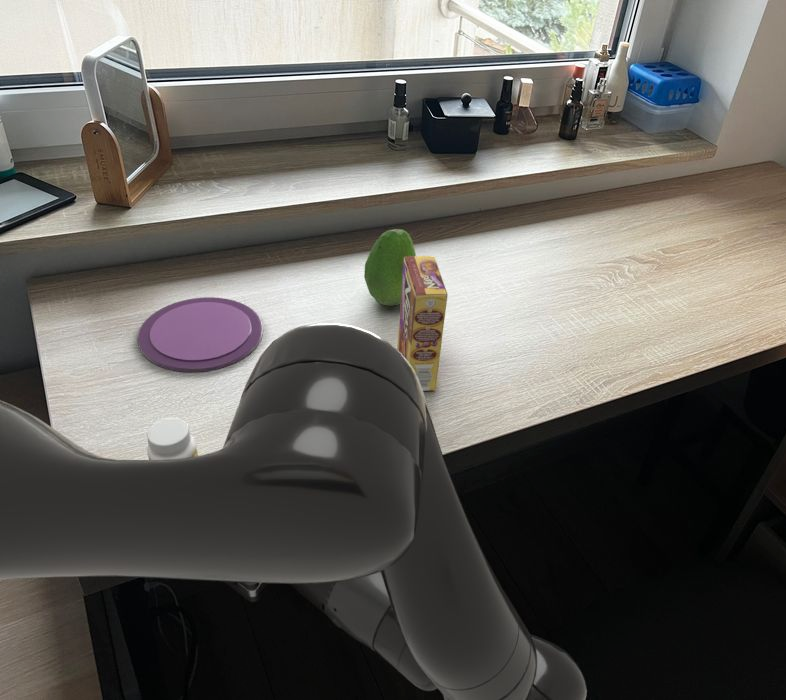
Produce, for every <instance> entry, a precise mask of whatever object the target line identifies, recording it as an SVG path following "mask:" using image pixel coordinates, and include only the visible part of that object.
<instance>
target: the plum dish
mask: <svg viewBox="0 0 786 700" xmlns="http://www.w3.org/2000/svg"><path fill="white" fill-rule="evenodd" d="M263 332H264V328H263V322H262V319H261V317H260V316H259V314H258V313H257V312H256V311H255V310H254V309H252V308H251V307H250V306H248V305H246V304H244V303H242V302H240V301H237V300H233V299H229V298H223V297H213V296H210V297H209V296H208V297H207V296H205V297H194V298H188V299H184V300H181V301H176V302H173V303H171V304H168V305H166V306H164V307H161V308H160V309H158V310H157V311H155V312H154V313H152V314H151V315H150V316H149V317H147V318H146V319H145V321H144V322H143V323H142V325H141V327H140V328H139V330H138V334H137V343H138V348H139V350H140V352H141V353H142V355H143V356H144V357H145V358H146V359H147V360H148V361H150V362H151V363H152V364H154V365H156V366H158V367H161V368H163V369H166V370H170V371H175V372H182V373H201V372H209V371H215V370H219V369H222V368H226V367H229V366H231V365H234V364H236V363H238V362H240V361H241V360H244V359H245V358H246V357H248V356H249V355H250V354H251V353H252V352H254V351H255V350H256V348H257V347H258V346H259V344H260V343H261V341H262V338H263Z"/></svg>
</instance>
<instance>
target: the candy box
mask: <svg viewBox="0 0 786 700" xmlns="http://www.w3.org/2000/svg"><path fill="white" fill-rule="evenodd" d="M445 285H446V284H445V283H444V280H443V276H442V274H441V271H440V268H439V266H438V263H437V261H436V256H434V255H433V256H432V255H416V256H413V257H404V264H403V278H402V290H401V303H400V304H399V305H400V306H399V318H398V319H399V320H398V322H399V323H398V334H397V346H396V347H397V348H396V349H397V350H398V351H399V352H400V353H401V354H402V355H403V356H404V357H405V358H406V359H407V361H408V362H409V363H410V365H411V366H412V368H413V369H414V371H415V373H416V375H417V377H418V379H419V381H420V384H421V387H422V390H423V392H430V391H434V392H435V391H436V388H437V383H438V373H439V367H440V359H441V351H442V350H441V349H442V341H443V334H444V326H445V318H446V310H447V304H448V295H449V294H448V291H447V289H446V286H445Z"/></svg>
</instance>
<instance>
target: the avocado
mask: <svg viewBox="0 0 786 700" xmlns="http://www.w3.org/2000/svg"><path fill="white" fill-rule="evenodd" d="M413 242H414V241H413V240H412V238H411V236H410V233H408V232H407V231H406V230H404V229H399V228H397V229H388V230H386V231H385V232H383V233H381V235H379V237H378V238H377V239H376V240H375V242H374V244H373V246H372V248H371V249H370V252H369V254H368V256H367V259H366V260H365V263H364V274H363V275H364V277H363V278H364V281H365V285H366V287H367V290H368V292H369V294H370V296H371V297H372V298H373V299H374V300H375V301H376V303H378V304H380V305H383V306H388V307H393V306H397V305H400V304H401V290H402V278H403V264H404V257H413V256H417V254H416V250H415V245H414V243H413Z"/></svg>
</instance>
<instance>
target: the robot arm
mask: <svg viewBox="0 0 786 700" xmlns="http://www.w3.org/2000/svg"><path fill="white" fill-rule="evenodd" d="M439 441H440V440H439V438H438V435H437V431H436V428H435V424H434V421H433V419H432V415H431V412H430V409H429V405H428V402H427V399H426V396H425V393H424V391H423V390H422V387H421V384H420V381H419V379H418V377H417V375H416V373H415V371H414V369H413V368H412V366H411V365H410V363H409V362H408V361H407V359H406V358H405V357H404V356H403V355H402V354H401V353H400V352H399V351H398V350H397V348H396V347H394V346H393V344H391V343H390V342H389V341H388V340H386V339H384V338H383V337H380V336H379V335H378V334H375V333H373V332H372V331H370V330H367V329H363V328H361V327H358V326H355V325H351V324H345V323H339V322H317V323H311V324H310V323H309V324H305V325H301V326H298V327H295V328H293V329H290V330H288V331H286V332H284V333H283V334H282V335H280V336H279V337H277V338H276V339H274V340H273V341H272V342H271V343H269V345H268V346H267V348H266V349H265V350H264V351H263V352H262V354H261V355H260V356H259V358H258V360H257V362H256V363H255V366H254V368H253V369H252V371H251V373H250V375H249V376H248V379H247V381H246V383H245V386H244V388H243V390H242V393H241V396H240V400H239V403H238V406H237V408H236V410H235V414H234V416H233V419H232V422H231V425H230V427H229V430H228V432H227V436H226V437H225V441H224V444H223V446H222V448H220V449H218V450H216V451H213V452H210V453H206V454H200V455H198V456H196V457H188V458H181V459H165V460H149V459H115V458H109V457H104V456H101V455H97V454H95V453H92V452H90V451H88V450H86V449H85V448H83V447H82V446H80V445H78V444H77V443H75V442H74V441H72V439H70V438H68V437H66V436H65V435H64V434H62V433H61V432H59V431H58V430H57V429H55V428H54V427H52V426H50V425H49V424H47V423H46V422H44V421H43V420H41V419H40V418H38V417H37V416H34V415H33V414H31V413H29V412H28V411H26V410H24V409H22V408H19V407H17V406H15V405H13V404H10V403H8V402H6V401H4V400H1V399H0V580H19V579H21V580H23V579H24V580H25V579H49V578H51V579H53V578H55V579H56V578H92V577H93V578H94V577H100V578H102V577H106V578H107V577H108V578H109V577H110V578H111V577H112V578H114V577H115V578H116V577H117V578H141V579H142V578H145V579H166V580H185V581H186V580H188V581H189V580H190V581H208V582H209V581H210V582H224V583H225V584H226V585H227V586H229V587H230V588H231V589H233V590H234V592H237V593H238V594H239V595H240V596H242V597H243V598H244V599H245V600H247V601H248V602H250V603H256V602H258V601H260V600H261V598H262V590H263V589H265V587H267V586H268V584H276V585H277V584H279V585H290V586H292V587H293V588H294V589H295V590H296V591H297V592H298V593H299V594H300V595H302V596H303V597H304V598H305V599H306V600H307V601H309V603H311V604H312V605H314V606H315V607H316V608H317V609H318V610H319V611H321V612H322V613H323V614H324V615H325V616H326V617H328V618H329V619H330V620H331V622H332V623H333V624H334V625H335V626H336V627H337V628H339V629H341V630H343V631H344V632H345V633H347V634H348V635H349V636H350V637H351V638H353V639H354V640H356V641H358V642H359V643H361V644H363V645H364V646H366V647H368V648H369V649H370V650H371V651H373V652H374V653H375V654H377V655H378V656H379V657H380V658H381V659H382V660H384V661H385V663H387V664H388V665H390V666H391V667H392V668H393V669H394V670H396V671H397V672H398V673H399V674H400V675H401V676H403V677H404V679H406V680H407V681H408V682H409V683H411V684H412V685H414V686H415V687H417V688H418V689H420V690H422V691H426V692H430V691H431V692H432V691H435V690H437V689H438V691H440V693H441V694H442V697H443V699H444V700H586V698H587V692H588V688H587V687H588V686H587V682H586V678H585V675H584V673H583V671H582V670H581V667H580V665H579V664H578V663H577V661H576V660H575V659H574V658H573V657H572V656H571V654H569V652H567V651H566V650H564V649H563V648H562V647H560V646H559V645H556V644H555V643H553V642H551V641H549V640H546V639H544V638H541V637H539V636H537V635H533V634H531V633H530V631H529V630H528V628H527V626H526V625H525V623H524V621H523V620H522V618H521V616H520V614H519V613H518V611H517V610H516V608H515V607H514V605H513V603H512V602H511V600H510V598H509V596H508V595H507V593H506V592H505V590H504V589H503V586H502V585H501V583H500V581H499V580H498V578H497V576H496V574H495V572H494V571H493V569H492V566H491V565H490V562H489V561H488V559H487V558H486V557H487V556H486V555H485V553H484V551H483V549H482V547H481V545H480V542H479V541H478V538H477V536H476V534H475V532H474V530H473V528H472V525H471V523H470V520H469V518H468V516H467V514H466V511H465V509H464V506H463V504H462V501H461V499H460V497H459V494H458V492H457V489H456V486H455V484H454V482H453V479H452V477H451V474H450V471H449V468H448V465H447V463H446V461H445V458H444V455H443V451H442V448H441V445H440V442H439Z"/></svg>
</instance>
